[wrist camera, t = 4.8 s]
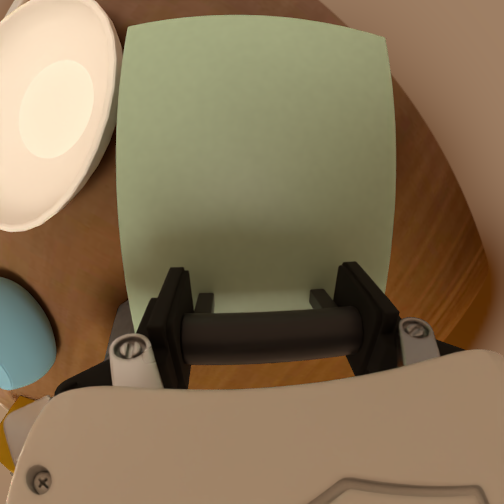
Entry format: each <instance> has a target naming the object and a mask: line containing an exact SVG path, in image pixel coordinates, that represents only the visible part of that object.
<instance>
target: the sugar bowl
mask: <svg viewBox="0 0 504 504" xmlns="http://www.w3.org/2000/svg"><path fill="white" fill-rule="evenodd" d="M55 359H56V343H55V338H54V334H53V331H52V327H51V324H50V322H49V320H48V318H47V316H46V314H45V313H44V311H43V309H42V308H41V306H40V305H39V304H38V302H37V301H36V300H35V299H34V298H33V296H32V295H31V294H30V293H29V292H28V291H27V290H26V289H24V288H23V287H22V286H21V285H19V284H17V283H16V282H14V281H12V280H9V279H6V278H3V277H0V388H2V389H5V390H12V389H17V388H20V387H24V386H26V385H29V384H31V383H34V382H35V381H37V380H38V379H40V378H41V377H43V376H44V375H45V374H46V373H47V372H48V371H49V369H50V368H51V367H52V365H53V364H54V362H55Z"/></svg>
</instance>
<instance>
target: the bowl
mask: <svg viewBox="0 0 504 504" xmlns="http://www.w3.org/2000/svg"><path fill="white" fill-rule="evenodd" d="M122 59H123V53H122V47H121V44H120V40H119V38H118V35H117V32H116V30H115V27H114V24H113V22H112V21H111V19H110V18H109V17H108V15H107V14H106V13H105V11H104V10H103V9H102V8H101V6H100V5H99V4H98V3H97V2H96V1H94V0H30V1H28V2H27V3H25V4H23V5H21V6H20V7H18V8H17V9H15V10H14V11H13V12H12V13H10V14H9V15H8V16H7V17H5V18H4V19H3V20H2V21H1V22H0V230H5V231H9V232H17V231H26V230H29V229H31V228H34V227H37V226H39V225H41V224H43V223H44V222H45V221H47V220H48V219H49V218H51V217H52V216H54V215H55V214H56V213H58V212H59V211H61V210H62V209H63V208H65V206H66V205H67V204H68V203H69V202H70V201H71V200H72V199H73V198H74V197H75V196H76V195H77V194H78V193H79V192H80V190H81V189H82V188H83V187H84V185H85V184H86V182H87V181H88V179H89V178H90V176H91V175H92V174H93V172H94V171H95V169H96V168H97V166H98V165H99V163H100V161H101V159H102V157H103V155H104V153H105V151H106V149H107V147H108V145H109V143H110V140H111V137H112V134H113V131H114V128H115V125H116V122H117V109H118V95H119V84H120V75H121V67H122Z"/></svg>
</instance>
